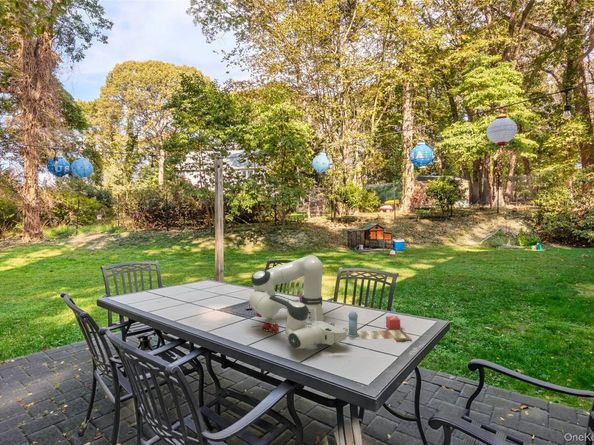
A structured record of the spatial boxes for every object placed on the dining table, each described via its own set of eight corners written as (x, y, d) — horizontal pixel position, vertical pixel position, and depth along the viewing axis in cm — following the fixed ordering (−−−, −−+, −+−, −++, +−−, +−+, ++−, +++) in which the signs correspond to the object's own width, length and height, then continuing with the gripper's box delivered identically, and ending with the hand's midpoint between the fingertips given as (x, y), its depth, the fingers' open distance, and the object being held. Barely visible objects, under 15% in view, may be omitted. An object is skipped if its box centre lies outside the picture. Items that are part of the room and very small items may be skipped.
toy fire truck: (276, 333, 182) (276, 316, 182) (256, 329, 189) (256, 312, 189) (279, 331, 185) (279, 314, 185) (260, 327, 192) (259, 310, 192)
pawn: (348, 337, 173) (349, 313, 173) (346, 333, 179) (346, 310, 178) (359, 337, 174) (359, 313, 173) (356, 333, 179) (357, 309, 179)
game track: (346, 343, 169) (346, 341, 169) (340, 333, 183) (340, 330, 183) (411, 341, 171) (411, 339, 171) (401, 331, 185) (401, 329, 185)
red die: (389, 330, 187) (389, 319, 186) (386, 326, 193) (386, 316, 192) (400, 330, 187) (400, 319, 187) (396, 326, 193) (396, 315, 193)
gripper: (306, 332, 170) (326, 327, 178) (333, 346, 154) (354, 339, 162) (306, 320, 170) (326, 315, 178) (333, 333, 153) (354, 326, 162)
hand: (340, 326), depth 170 cm, fingers open, 8 cm apart
